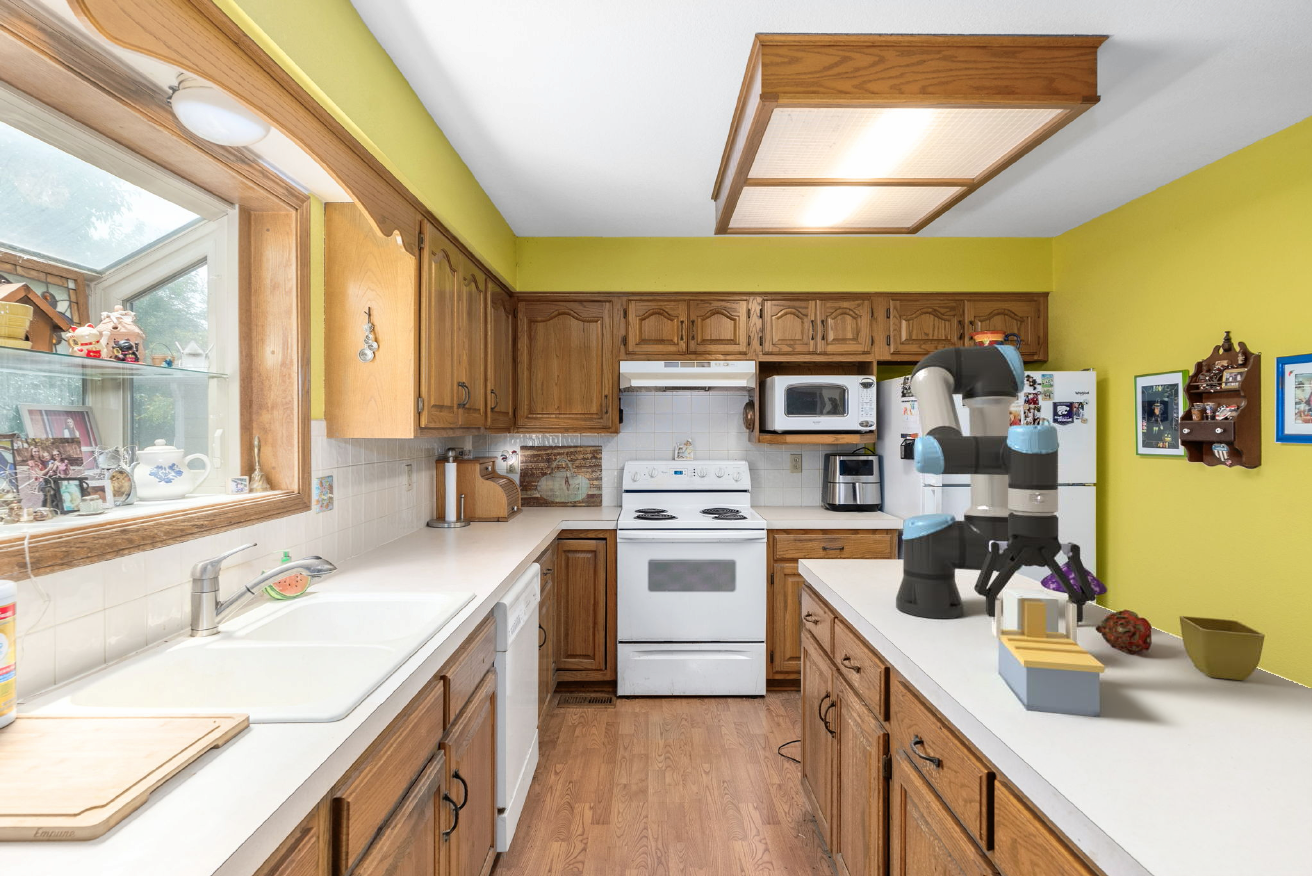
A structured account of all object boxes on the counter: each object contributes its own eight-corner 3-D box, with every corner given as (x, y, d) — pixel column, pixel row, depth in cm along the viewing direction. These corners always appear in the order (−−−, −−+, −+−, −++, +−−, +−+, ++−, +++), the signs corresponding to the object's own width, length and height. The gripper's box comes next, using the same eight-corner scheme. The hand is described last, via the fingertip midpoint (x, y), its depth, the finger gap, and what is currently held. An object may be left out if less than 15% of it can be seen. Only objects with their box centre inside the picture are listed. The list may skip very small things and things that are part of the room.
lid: (994, 636, 111) (994, 595, 111) (1063, 641, 108) (1063, 598, 108) (1023, 670, 95) (1023, 621, 95) (1104, 676, 93) (1104, 626, 93)
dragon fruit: (1130, 668, 116) (1114, 656, 127) (1174, 646, 114) (1154, 636, 125) (1096, 627, 119) (1084, 619, 130) (1139, 605, 117) (1123, 599, 128)
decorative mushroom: (1039, 628, 135) (1039, 561, 135) (1041, 614, 145) (1041, 551, 145) (1109, 638, 128) (1109, 567, 128) (1106, 622, 139) (1105, 557, 138)
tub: (998, 673, 110) (998, 634, 110) (1061, 678, 108) (1061, 638, 108) (1026, 709, 96) (1026, 665, 96) (1099, 716, 93) (1099, 671, 93)
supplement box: (1060, 666, 113) (1059, 599, 113) (1016, 664, 115) (1016, 597, 115) (1043, 652, 120) (1043, 589, 120) (1002, 650, 122) (1002, 587, 122)
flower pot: (1236, 668, 112) (1236, 619, 112) (1266, 687, 104) (1266, 634, 103) (1178, 662, 115) (1178, 615, 115) (1202, 680, 106) (1202, 629, 106)
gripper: (964, 513, 106) (965, 639, 106) (1120, 517, 100) (1120, 650, 101) (955, 508, 114) (955, 626, 114) (1099, 511, 108) (1100, 635, 108)
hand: (1033, 637), depth 107 cm, fingers closed on lid, 11 cm apart
